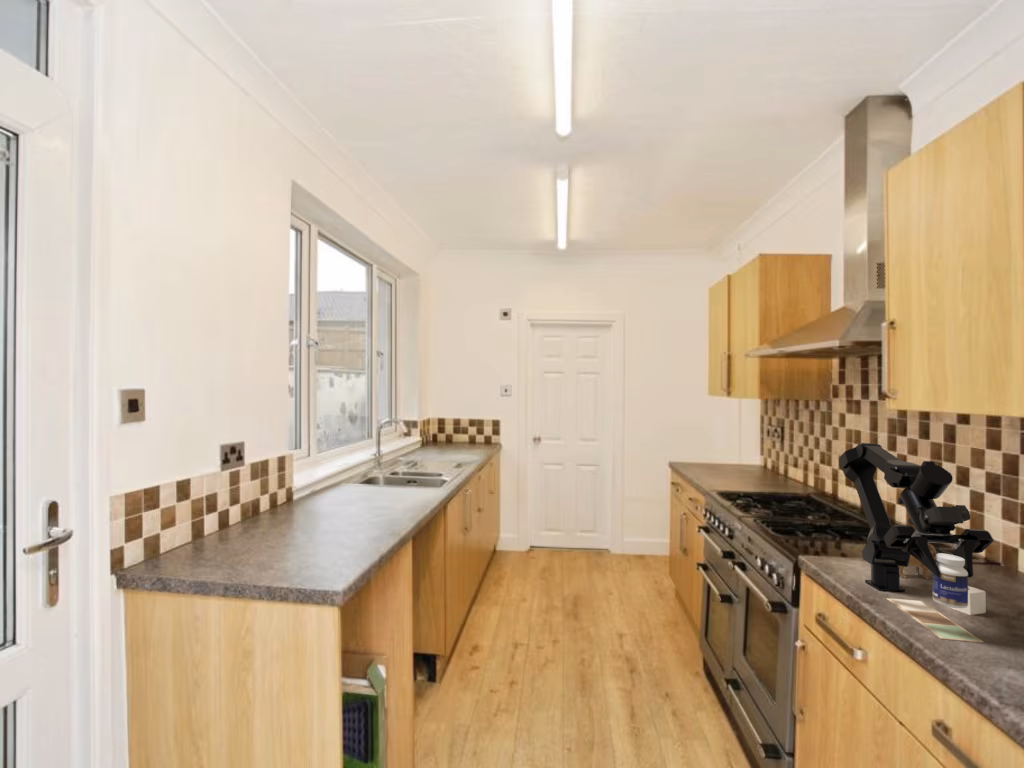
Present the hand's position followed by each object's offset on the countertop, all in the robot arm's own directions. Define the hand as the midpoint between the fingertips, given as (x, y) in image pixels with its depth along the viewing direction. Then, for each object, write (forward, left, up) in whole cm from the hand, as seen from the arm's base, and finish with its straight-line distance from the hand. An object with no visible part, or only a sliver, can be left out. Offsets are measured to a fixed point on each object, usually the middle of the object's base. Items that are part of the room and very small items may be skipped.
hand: (954, 575), depth 107 cm
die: (-14, +13, -13) cm, 23 cm away
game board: (-8, +1, -12) cm, 15 cm away
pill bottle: (-1, 0, -7) cm, 7 cm away
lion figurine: (-37, +16, -13) cm, 43 cm away
